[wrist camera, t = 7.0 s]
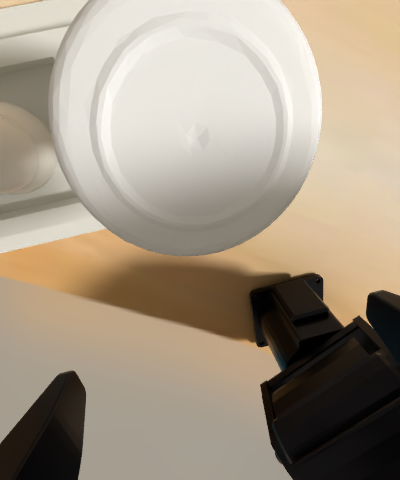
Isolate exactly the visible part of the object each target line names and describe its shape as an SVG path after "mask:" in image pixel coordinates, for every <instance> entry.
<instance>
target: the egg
mask: <svg viewBox="0 0 400 480" xmlns="http://www.w3.org/2000/svg"><path fill="white" fill-rule="evenodd" d="M57 163H58V160H57V157H56V153H55V150H54V146H53V142H52V137H51V132H50V130H49V129H48V127H47V126H46V125H45V124H44V123H43V122H42V121H41V119H39V118H38V117H37V116H36V115H34V114H33V113H31V112H30V111H28V110H26V109H24V108H22V107H20V106H17V105H15V104H11V103H7V102H0V195H2V194H8V195H20V194H26V193H30V192H33V191H35V190H37V189H39V188H41V187H42V186H44V185H45V184H46V183H47V182H48V181H49V180H50V179H51V177H52V176H53V174H54V172H55V170H56V167H57Z"/></svg>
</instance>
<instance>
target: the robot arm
mask: <svg viewBox="0 0 400 480" xmlns="http://www.w3.org/2000/svg"><path fill="white" fill-rule="evenodd" d="M317 279H318V280H317ZM316 280H317V281H316ZM255 295H257V296H256V297H254V296H255ZM249 298H250V305H251V312H252V319H253V327H254V334H255V341H256V344H257V346H258V347H265V346H268V345H269V347H270V349H271V351H272V353H273V355H274V357H275V359H276V361H277V363H278V365H279V367H280V369H281V372H280V373H279V374H277V375H276V376H274V377H273V378H271V379H270V380H269V381H265V382H263V383H262V384H261V385H260V386H261V391H262V399H263V404H264V410H265V415H266V420H267V425H268V430H269V436H270V440H271V445H272V447H273V449H274V450H275V455H276V458H277V459H278V461H279V462H280V463H281V464H283V466H284V467H285V469H286V470H287V472H288V473H289V475H290V476H291V477H292V479H293V480H400V296H399V295H396V294H393V293H390V292H388V291H384V290H380V291H376V292H372V293H370V294H369V295H368V299H367V308H366V316H367V319H368V321H369V323H370V324H371V326H372V327H373V328H374V329H373V328H372V327H371V326H370V325H369V324H368V323H367V322H366V321H364V320H363V319H362V318H361V317H360V316H357V317H356V318H355V319H353V322H351V323H350V324H349V325H347V326H346V327H344V326H343V325H342V324H341V323H340V322H339V320H338V319H337V318H336V317H335V316H334V315H333V314H332V312H331V311H330V310H329V308H328V307H327V305H326V304H325V303H324V302H323V278H322V277H321V276H320V275H318V274H315V275H311V276H307V277H303V278H299V279H295V280H292V281H288V282H284V283H280V284H276V285H272V286H268V287H264V288H260V289H256V290H253V291H251V292H250V294H249ZM261 341H262V342H261ZM85 404H86V391H85V388H84V386H83V384H82V382H81V381H80V379H79V377H78V375H77V374H76V372H75V371H68V372H64V373H61V374H59V375H58V376H56V378H55V379H54V380H53V381H52V382H51V384H50V385H49V386H48V387H47V388H46V390H45V391H44V392H43V393H42V394H41V395H40V397H39V398H38V399H37V400H36V402H35V403H34V404H33V405H32V406H31V407H30V409H29V410H28V411H27V412H26V414H25V415H24V416H23V417H22V418H21V420H20V421H19V422H18V423H17V424H16V425H15V427H14V428H13V429H12V430H11V431H10V433H9V434H8V435H7V436H6V438H5V439H4V440H3V441H2V442H1V444H0V480H78V475H79V470H80V463H81V457H82V447H83V434H84V419H85Z"/></svg>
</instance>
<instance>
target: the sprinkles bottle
mask: <svg viewBox="0 0 400 480" xmlns="http://www.w3.org/2000/svg"><path fill="white" fill-rule="evenodd" d="M48 112H49V124H50V131H51V137H52V142H53V146H54V150H55V153H56V157H57V160H58V162H59V165H60V168H61V170H62V172H63V174H64V176H65V178H66V180H67V182H68V184H69V185H70V187H71V189H72V191H73V192H74V194H75V195H76V196H77V198H78V199H79V201H80V202H81V203H82V205H83V206H84V207H85V208H86V209H87V210H88V211H89V212H90V214H91V215H92V216H93V217H94V218H95V219H96V220H98V221H99V222H100V223H101V224H102V225H103V226H105V227H106V228H107V229H108V230H109V231H111V232H112V233H114V234H115V235H117V236H118V237H120V238H121V239H123V240H124V241H126V242H129V243H131V244H134V245H136V246H138V247H141V248H143V249H146V250H149V251H152V252H156V253H161V254H166V255H174V256H200V255H208V254H212V253H217V252H221V251H224V250H227V249H229V248H232V247H234V246H237V245H239V244H242V243H243V242H245V241H247V240H249V239H251V238H252V237H254V236H256V235H257V234H259V233H260V232H261V231H263V230H264V229H265V228H267V227H268V226H269V225H270V224H271V223H272V222H274V221H275V220H276V219H277V218H278V217H279V216H280V215H281V214H282V213H283V212H284V210H285V209H286V208H287V207H288V206H289V205H290V203H291V202H292V201H293V199H294V198H295V196H296V195H297V193H298V192H299V190H300V188H301V186H302V185H303V183H304V181H305V179H306V177H307V175H308V173H309V170H310V168H311V165H312V163H313V160H314V157H315V153H316V150H317V146H318V141H319V136H320V130H321V119H322V100H321V88H320V82H319V76H318V71H317V67H316V64H315V60H314V57H313V54H312V52H311V49H310V47H309V44H308V42H307V40H306V37H305V35H304V34H303V32H302V30H301V28H300V27H299V25H298V23H297V22H296V20H295V19H294V17H293V16H292V15H291V13H290V12H289V10H288V9H287V7H286V6H285V5H284V4H283V3H282V2H281V1H280V0H89V1H88V2H87V3H86V4H85V5H84V6H83V8H82V9H81V10H80V11H79V12H78V14H77V15H76V17H75V18H74V20H73V21H72V23H71V25H70V26H69V28H68V30H67V31H66V33H65V35H64V37H63V39H62V41H61V44H60V47H59V49H58V51H57V54H56V58H55V62H54V66H53V70H52V74H51V78H50V85H49V97H48Z"/></svg>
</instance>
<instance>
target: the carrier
mask: <svg viewBox="0 0 400 480" xmlns="http://www.w3.org/2000/svg"><path fill="white" fill-rule="evenodd" d="M88 1H89V0H45V1H40V2H35V3H30V4H24V5H19V6H14V7H8V8H3V9H0V102H7V103H11V104H15V105H17V106H20V107H22V108H24V109H26V110H28V111H30V112H31V113H33V114H34V115H36V116H37V117H38V118H39V119H41V121H42V122H43V123H44V124H45V125H46V126H47V127H48V129H49V130H50V124H49V112H48V97H49V85H50V78H51V74H52V70H53V66H54V62H55V58H56V54H57V51H58V49H59V47H60V44H61V41H62V39H63V37H64V35H65V33H66V31H67V30H68V28H69V26H70V25H71V23H72V21H73V20H74V18H75V17H76V15H77V14H78V12H79V11H80V10H81V9H82V8H83V6H84V5H85V4H86V3H87V2H88ZM50 132H51V131H50ZM102 229H106V227H105V226H103V225H102V224H101V223H100V222H99V221H98V220H96V219H95V218H94V217H93V216H92V215H91V214H90V212H89V211H88V210H87V209H86V208H85V207H84V206H83V205H82V203H81V202H80V201H79V199H78V198H77V196H76V195H75V194H74V192H73V191H72V189H71V187H70V185H69V184H68V182H67V180H66V178H65V176H64V174H63V172H62V170H61V168H60V165H59V162H58V163H57V167H56V170H55V172H54V174H53V176H52V177H51V179H50V180H49V181H48V182H47V183H46V184H45V185H44V186H42V187H41V188H39V189H37V190H35V191H33V192H30V193H26V194H20V195H8V194H2V195H0V253H4V252H8V251H13V250H17V249H21V248H26V247H30V246H34V245H38V244H43V243H47V242H51V241H55V240H60V239H64V238H68V237H72V236H77V235H81V234H85V233H89V232H94V231H98V230H102Z"/></svg>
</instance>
